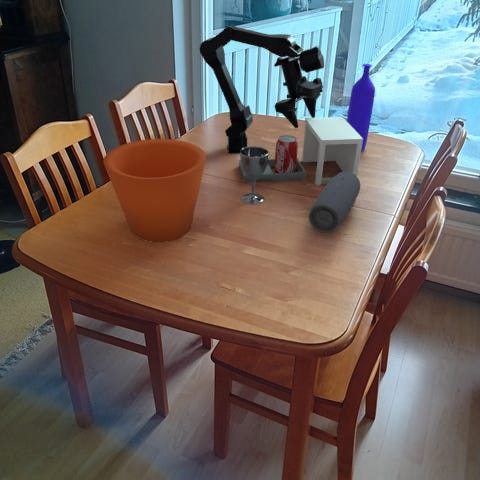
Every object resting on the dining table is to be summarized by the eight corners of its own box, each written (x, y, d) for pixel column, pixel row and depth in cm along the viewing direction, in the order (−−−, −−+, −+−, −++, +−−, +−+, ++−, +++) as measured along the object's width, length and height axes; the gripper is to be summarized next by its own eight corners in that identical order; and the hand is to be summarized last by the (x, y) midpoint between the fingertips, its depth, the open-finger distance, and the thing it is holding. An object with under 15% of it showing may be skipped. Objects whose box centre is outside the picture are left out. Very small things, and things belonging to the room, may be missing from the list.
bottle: (367, 146, 179) (382, 63, 163) (362, 153, 173) (377, 68, 157) (346, 142, 182) (358, 60, 166) (340, 149, 176) (352, 65, 160)
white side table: (316, 185, 151) (321, 140, 143) (301, 159, 168) (305, 118, 159) (355, 183, 153) (363, 138, 144) (336, 158, 169) (342, 117, 161)
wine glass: (269, 195, 145) (271, 148, 136) (261, 207, 138) (263, 158, 130) (244, 190, 147) (245, 144, 139) (235, 202, 140) (236, 154, 132)
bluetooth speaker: (328, 196, 145) (332, 166, 139) (359, 203, 141) (364, 172, 136) (304, 232, 127) (307, 199, 122) (338, 241, 124) (343, 207, 119)
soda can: (296, 177, 155) (299, 142, 149) (274, 177, 155) (276, 142, 149) (294, 168, 161) (297, 134, 155) (273, 168, 161) (275, 134, 155)
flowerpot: (187, 259, 116) (184, 186, 105) (95, 242, 121) (83, 171, 110) (219, 211, 136) (219, 145, 125) (139, 198, 141) (132, 134, 130)
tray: (244, 182, 152) (244, 175, 150) (239, 166, 161) (239, 160, 160) (305, 180, 154) (306, 172, 153) (296, 164, 164) (297, 157, 163)
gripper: (293, 82, 143) (306, 132, 149) (330, 63, 153) (340, 110, 159) (267, 87, 151) (281, 133, 157) (303, 68, 161) (314, 113, 167)
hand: (305, 122), depth 160 cm, fingers open, 9 cm apart
